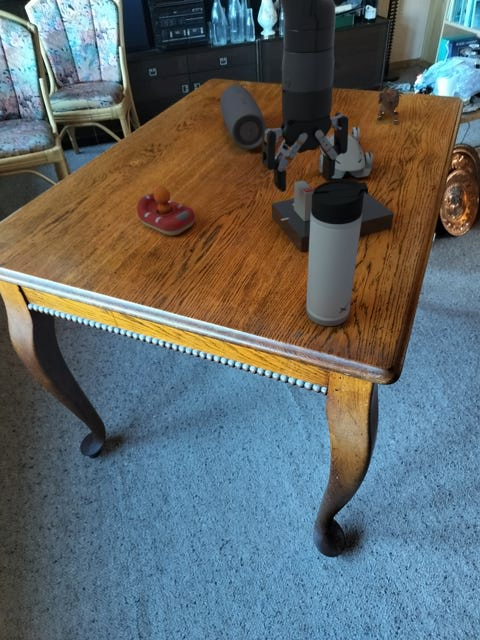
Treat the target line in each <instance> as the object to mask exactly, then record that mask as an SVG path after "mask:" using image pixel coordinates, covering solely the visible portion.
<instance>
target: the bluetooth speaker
mask: <svg viewBox="0 0 480 640" xmlns="http://www.w3.org/2000/svg"><path fill="white" fill-rule="evenodd" d="M219 101H220V102H219V106H220V111H221V117H222V120H223V122H224V123H223V124H224V125H225V128H226V130H227V132H228V133H229V135H230V137H231V140H232V141H233V143H235V144H236V145H237V146H238V148H241V149H243V150H253V149H256V148H258V147H260V146H261V145H262V141H263V129H264V128H265V127H267V122H266V119H265V117H264V115H263V112H262V110H261V108H260V107H259V104H258V102H257V101H256V99H255V98H254V96H253V95H252V94H251V93H250V91H249V90H248V89H247V88H245V87H244V86H242V85H240V84H232V85H229V86H227V87H226V88H225V89H224V90H223V91H222V94H221V95H220V100H219Z"/></svg>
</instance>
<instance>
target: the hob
mask: <svg viewBox="0 0 480 640" xmlns="http://www.w3.org/2000/svg"><path fill="white" fill-rule="evenodd" d="M394 215H395V213H394V212H393V211H392V210H390V209H389V208H388V207H386V206H385V205H384V204H383V203H381V201H380V200H378V199H377V198H376V197H374V196H373V195H372V194H370V193H369V192H368V194H366V192H365V193H364V198H363V207H362V218H361V219H362V220H361V227H360V235H359V238H360V237H363V236H367V235H371V234H374V233H378V232H382V231H385V230H390V229H392V227H393V221H394ZM271 218H272V220H273V221H274V222H275V223H276V224H277V226H278V227H279V228H280V229H281V230H282V231H283V232H284V234H285V236H287V238H289V240H290V241H291V242H292V243H293V245H294V246H295V247H296V248H297V249H298V250H299V252H300V253H303V252H304V253H305V252H307V251H308V252H309V239H310V220H309V221H305V222H304V221H303V220H302V218H301V217H300V216H299V215H298V214H297V213H296V212H295V211H294V197H293V198H289V199H285V200H281V201H276V202H272V203H271Z"/></svg>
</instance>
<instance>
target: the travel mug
mask: <svg viewBox="0 0 480 640" xmlns="http://www.w3.org/2000/svg"><path fill="white" fill-rule="evenodd" d="M313 189H314V191H313V194H312V206H311V218H310V239H309V250H308V262H307V266H308V267H307V282H306V284H307V285H306V305H305V306H306V307H305V313H306V316H307V317H308V319H309V320H310V321H311V322H313V323H315V324H316V325H320V326H324V327H335V326H340V325H341V324H343V323H344V322H346V321H347V320H348V319H349V316H350V312H351V303H352V296H353V288H354V282H355V281H354V280H355V274H356V265H357V258H358V257H357V256H358V250H359V241H360V237H359V235H360V227H361V220H362V219H361V218H362V207H363V198H364V193H365V192H366V194H368V193H369V187H368V185H367V183H366V182H365V181H361V182H360V181H357V180H354V179H350V178H349V179H347V178H346V179H345V178H341V179H332V180H330V181H325V182H323V183H320V184H319V185H317V186H316V187H315V188H313Z"/></svg>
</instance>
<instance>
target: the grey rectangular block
mask: <svg viewBox="0 0 480 640" xmlns="http://www.w3.org/2000/svg"><path fill="white" fill-rule="evenodd" d="M314 189H315V188H313V187H312V186H311V185H309V184H308V182H306V181H305V180H304V179H303V180H298V181H294V186H293V190H294V191H293V198H294V211H295V212H296V213H297V214H298V215H299V216H300V217H301V218H302V220H303V221H304V222H305V221H309V220H310V218H311V206H312V194H313V191H314Z"/></svg>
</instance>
